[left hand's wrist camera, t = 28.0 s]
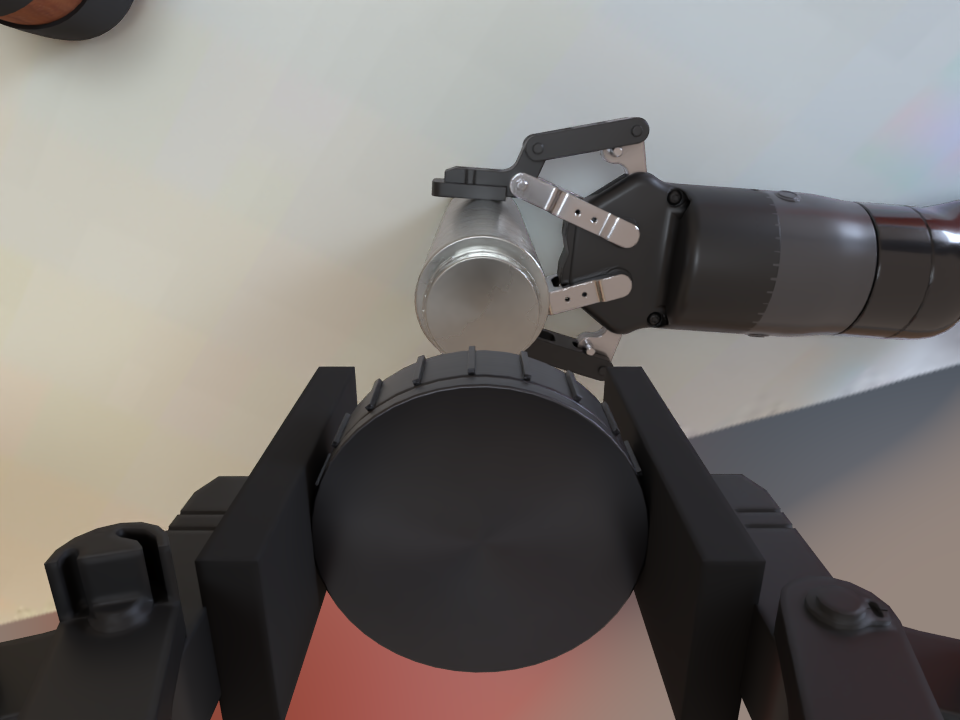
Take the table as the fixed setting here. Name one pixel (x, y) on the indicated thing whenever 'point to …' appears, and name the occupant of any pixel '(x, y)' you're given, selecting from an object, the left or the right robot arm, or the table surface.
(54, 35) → the mug
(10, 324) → the table surface
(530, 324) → the steel thermos bottle
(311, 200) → the table surface
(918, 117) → the table surface
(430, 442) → the lid
